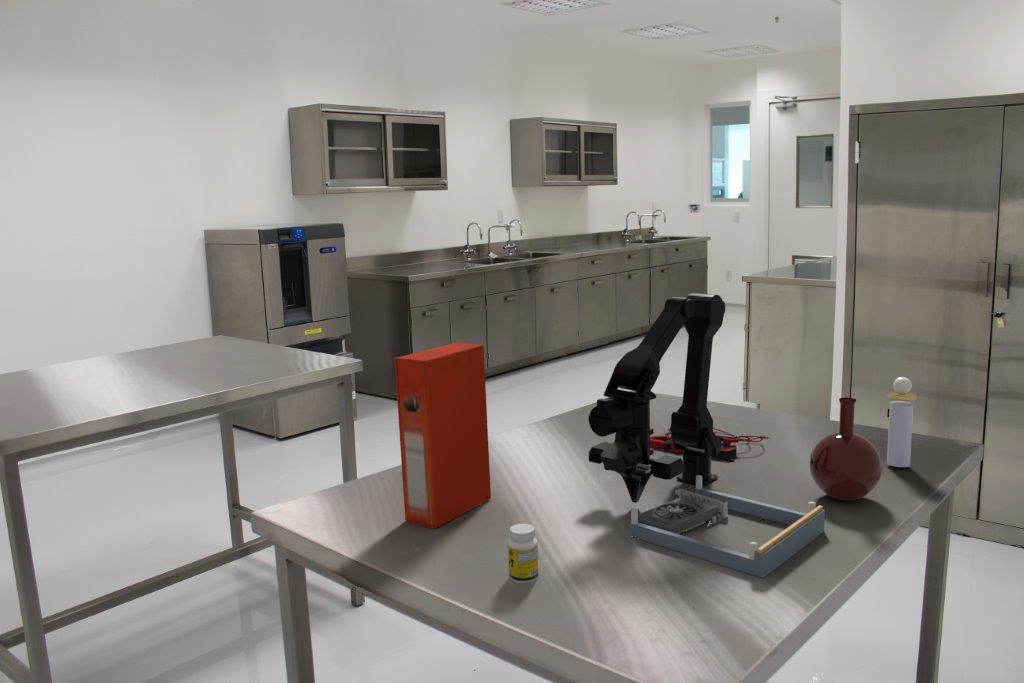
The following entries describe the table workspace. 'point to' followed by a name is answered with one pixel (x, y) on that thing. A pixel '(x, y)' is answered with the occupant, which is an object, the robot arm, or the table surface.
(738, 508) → the frame
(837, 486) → the round-bottom flask
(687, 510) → the graphics card
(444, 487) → the file binder
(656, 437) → the digital clamp meter
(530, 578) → the supplement bottle
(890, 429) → the perfume bottle
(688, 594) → the table surface
